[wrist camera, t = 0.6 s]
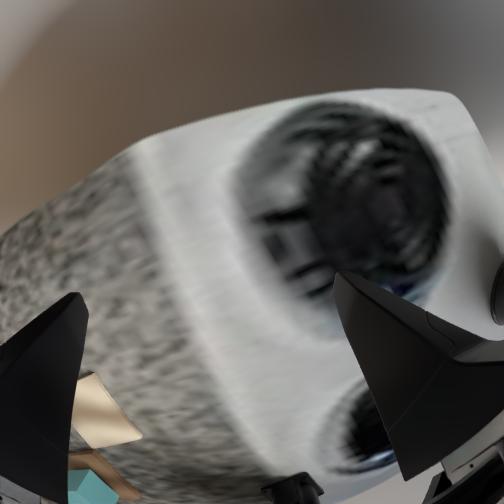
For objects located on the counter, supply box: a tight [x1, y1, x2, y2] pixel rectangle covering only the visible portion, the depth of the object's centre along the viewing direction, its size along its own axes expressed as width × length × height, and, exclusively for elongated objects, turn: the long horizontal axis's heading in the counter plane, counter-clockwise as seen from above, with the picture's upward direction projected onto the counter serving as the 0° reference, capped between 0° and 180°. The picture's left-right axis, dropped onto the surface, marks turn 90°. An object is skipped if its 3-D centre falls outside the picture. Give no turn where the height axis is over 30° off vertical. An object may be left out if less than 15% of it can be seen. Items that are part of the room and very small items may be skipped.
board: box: [71, 373, 142, 449], centre depth 23 cm, size 9×9×1 cm
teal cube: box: [68, 469, 119, 504], centre depth 19 cm, size 6×6×5 cm
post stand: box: [68, 449, 142, 500], centre depth 20 cm, size 10×10×6 cm
